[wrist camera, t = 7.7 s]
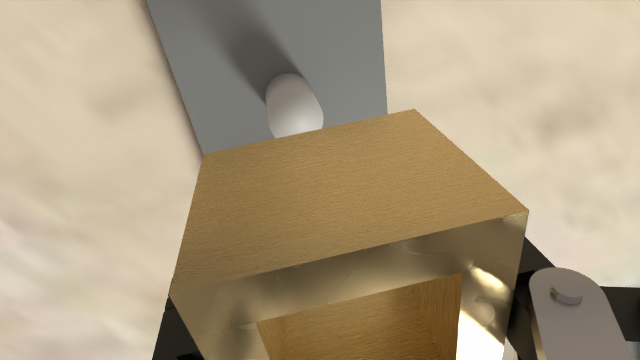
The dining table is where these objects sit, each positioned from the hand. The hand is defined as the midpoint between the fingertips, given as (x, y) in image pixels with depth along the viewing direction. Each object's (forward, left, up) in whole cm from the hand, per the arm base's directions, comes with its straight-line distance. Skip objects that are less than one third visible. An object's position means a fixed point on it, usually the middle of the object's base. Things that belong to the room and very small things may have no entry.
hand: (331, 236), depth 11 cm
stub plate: (0, -5, -15) cm, 15 cm away
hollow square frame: (0, 0, -1) cm, 1 cm away
